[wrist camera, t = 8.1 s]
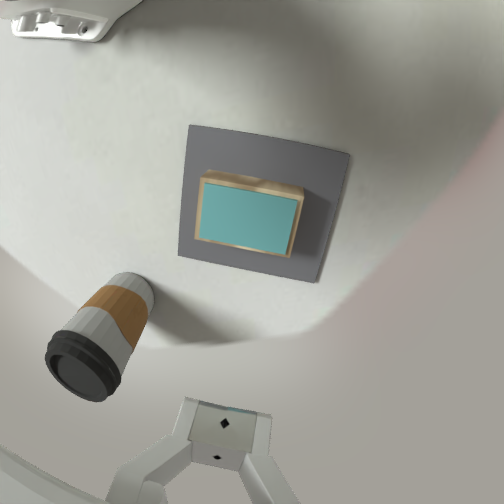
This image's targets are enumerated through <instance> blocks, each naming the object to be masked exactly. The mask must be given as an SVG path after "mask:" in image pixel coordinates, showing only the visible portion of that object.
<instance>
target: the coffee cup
mask: <svg viewBox="0 0 504 504" xmlns="http://www.w3.org/2000/svg"><path fill="white" fill-rule="evenodd" d="M153 306H154V294H153V291H152V288H151V287H150V285H149V284H148V283H147V282H146V281H145V280H144V279H143V278H142V277H140V276H139V275H136V274H134V273H129V272H125V273H119V274H117V275H115V276H114V277H113V278H112V279H111V280H110V281H109V282H108V283H106V284H105V285H104V286H103V287H102V288H100V289H99V290H98V291H97V292H96V293H95V294H94V295H93V296H92V297H91V298H90V299H89V300H88V301H87V302H86V303H85V304H84V305H83V306H82V307H81V308H80V309H79V311H78V312H77V314H76V315H75V316H74V317H73V318H72V319H71V320H70V321H69V322H68V323H67V324H66V325H65V326H64V327H63V328H62V329H61V330H60V331H58V332H56V333H55V334H54V335H53V337H52V339H51V341H50V342H49V343H48V347H47V352H46V354H45V361H46V365H47V367H48V369H49V371H50V372H51V373H52V375H53V376H54V378H55V379H56V380H57V381H58V382H59V383H60V384H62V385H63V386H64V387H65V388H66V389H68V390H69V391H71V392H72V393H73V394H75V395H77V396H79V397H81V398H83V399H86V400H88V401H93V402H102V401H104V400H105V399H106V398H107V397H108V396H110V395H112V394H113V393H114V392H115V390H116V388H117V387H118V386H119V385H120V383H121V376H122V374H123V372H124V369H125V367H126V365H127V362H128V360H129V358H130V356H131V354H132V353H133V351H134V349H135V347H136V344H137V342H138V340H139V338H140V336H141V334H142V331H143V329H144V327H145V325H146V323H147V319H148V317H149V315H150V313H151V311H152V308H153Z"/></svg>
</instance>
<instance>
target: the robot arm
mask: <svg viewBox="0 0 504 504" xmlns="http://www.w3.org/2000/svg"><path fill="white" fill-rule="evenodd" d="M141 1H142V0H0V18H1V19H9V20H11V28H12V32H13V35H14V36H15V37H23V38H52V39H67V40H78V41H88V42H97V41H99V40H100V39H102V38H103V37H104V35H105V34H106V33H107V32H108V31H109V29H110V28H111V26H112V25H113V24H114V22H115V21H116V20H117V19H118V18H119V17H120V16H122V15H123V14H124V13H126V12H127V11H129V10H130V9H132V8H133V7H135V6H136V5H137V4H139V3H140V2H141ZM87 28H88V31H87V32H86V33H85V31H86V29H87ZM271 425H272V416H271V414H265V413H259V412H255V411H249V410H243V409H238V408H232V407H226V406H222V405H217V404H213V403H208V402H204V401H200V400H197V399H193V398H188V397H185V399H184V400H183V402H182V405H181V408H180V411H179V414H178V417H177V420H176V424H175V427H174V430H173V433H172V435H166V436H165V437H163V438H162V439H160V440H159V441H158V442H156V443H155V444H153V445H152V446H150V447H149V448H148V449H146V450H145V451H143V452H142V453H140V454H139V455H137V456H136V457H134V458H133V459H132V460H130V461H128V462H127V463H125V464H124V465H122V466H121V467H119V468H118V469H117V472H116V475H115V477H114V480H113V482H112V485H111V487H110V489H109V492H108V494H107V497H106V500H105V501H104V500H102V499H99V498H97V497H95V496H93V495H90V494H88V493H86V492H84V491H81V490H79V489H77V488H75V487H73V486H71V485H69V484H67V483H65V482H63V481H61V480H59V479H57V478H55V477H54V476H52V475H50V474H48V473H46V472H45V471H43V470H41V469H39V468H37V467H36V466H34V465H32V464H31V463H29V462H27V461H26V460H24V459H22V458H21V457H20V456H18V455H16V454H15V453H13V452H12V451H10V450H9V449H7V448H6V447H4V446H3V445H2V444H0V504H168V501H167V497H166V493H165V489H164V486H165V485H166V484H167V483H168V482H170V481H171V480H172V479H173V478H174V477H176V476H177V475H178V474H179V473H180V472H181V471H183V470H184V469H185V468H186V467H187V466H188V465H189V464H190V463H191V462H196V463H201V464H205V465H210V466H215V467H220V468H224V469H229V470H234V471H238V472H239V475H240V477H241V479H242V482H243V484H244V486H245V488H246V490H247V493H248V495H249V497H250V499H251V501H252V503H253V504H300V502H299V501H298V499H297V497H296V496H295V494H294V492H293V491H292V489H291V487H290V486H289V484H288V483H287V481H286V479H285V477H284V476H283V474H282V472H281V471H280V469H279V467H278V466H277V464H276V462H275V460H274V459H273V457H271V456H268V454H269V444H270V435H271Z"/></svg>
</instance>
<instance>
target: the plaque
mask: <svg viewBox="0 0 504 504" xmlns="http://www.w3.org/2000/svg"><path fill="white" fill-rule="evenodd" d="M303 200H304V189H303V187H300V186H296V185H291V184H286V183H281V182H276V181H271V180H266V179H260V178H255V177H250V176H244V175H239V174H233V173H227V172H221V171H215V170H208V171H207V172H206V173H204V174H203V175H202V176H201V177H200V185H199V195H198V204H197V215H196V225H195V237H194V239H197V240H202V241H207V242H212V243H217V244H222V245H227V246H232V247H237V248H242V249H247V250H252V251H257V252H262V253H267V254H272V255H277V256H282V257H287V258H290V255H291V250H292V246H293V242H294V238H295V234H296V230H297V226H298V222H299V217H300V213H301V209H302V205H303Z"/></svg>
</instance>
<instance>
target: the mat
mask: <svg viewBox="0 0 504 504" xmlns="http://www.w3.org/2000/svg"><path fill="white" fill-rule="evenodd" d="M349 157H350V155H349V154H347V153H343V152H339V151H335V150H331V149H326V148H322V147H318V146H313V145H309V144H304V143H299V142H295V141H290V140H285V139H280V138H274V137H269V136H263V135H258V134H252V133H246V132H240V131H233V130H227V129H220V128H212V127H205V126H197V125H189V129H188V138H187V146H186V156H185V166H184V176H183V187H182V199H181V212H180V227H179V243H178V256H182V257H187V258H192V259H196V260H201V261H206V262H211V263H215V264H220V265H225V266H230V267H235V268H240V269H245V270H250V271H255V272H259V273H264V274H269V275H274V276H280V277H285V278H290V279H295V280H300V281H305V282H310V283H315V279H316V276H317V273H318V270H319V266H320V263H321V260H322V256H323V253H324V250H325V246H326V243H327V239H328V236H329V232H330V229H331V225H332V222H333V218H334V215H335V211H336V207H337V204H338V200H339V196H340V192H341V188H342V185H343V181H344V177H345V173H346V169H347V165H348V161H349ZM208 170H215V171H221V172H227V173H233V174H239V175H244V176H250V177H255V178H260V179H266V180H271V181H276V182H281V183H286V184H291V185H296V186H300V187H303V189H304V200H303V205H302V209H301V213H300V217H299V222H298V226H297V230H296V234H295V238H294V242H293V246H292V250H291V255H290V258H287V257H282V256H277V255H272V254H267V253H262V252H257V251H252V250H247V249H242V248H237V247H232V246H227V245H222V244H217V243H212V242H207V241H202V240H197V239H194V237H195V225H196V215H197V204H198V195H199V185H200V177H201V176H202V175H203V174H204V173H206V172H207V171H208Z"/></svg>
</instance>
